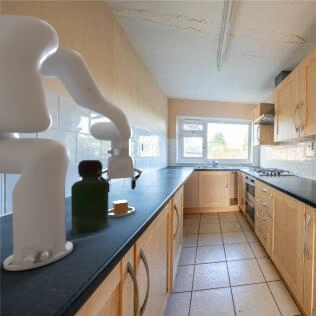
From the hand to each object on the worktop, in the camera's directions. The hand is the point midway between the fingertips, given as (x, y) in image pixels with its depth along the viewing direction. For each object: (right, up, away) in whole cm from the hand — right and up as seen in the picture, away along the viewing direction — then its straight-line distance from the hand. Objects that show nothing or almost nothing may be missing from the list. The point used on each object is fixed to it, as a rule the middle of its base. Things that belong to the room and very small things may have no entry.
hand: (120, 190), depth 83 cm
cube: (0, -10, 0) cm, 10 cm away
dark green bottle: (-1, -11, -16) cm, 20 cm away
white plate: (0, -11, 0) cm, 11 cm away
